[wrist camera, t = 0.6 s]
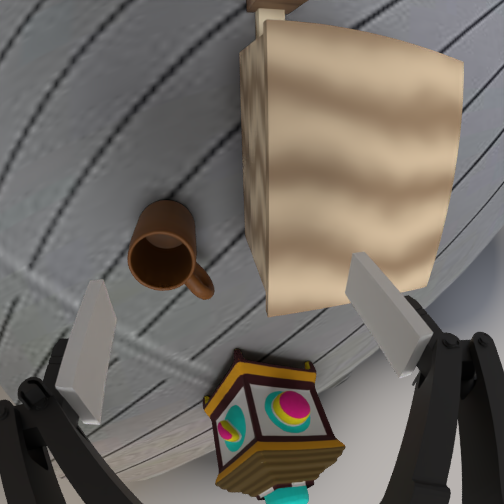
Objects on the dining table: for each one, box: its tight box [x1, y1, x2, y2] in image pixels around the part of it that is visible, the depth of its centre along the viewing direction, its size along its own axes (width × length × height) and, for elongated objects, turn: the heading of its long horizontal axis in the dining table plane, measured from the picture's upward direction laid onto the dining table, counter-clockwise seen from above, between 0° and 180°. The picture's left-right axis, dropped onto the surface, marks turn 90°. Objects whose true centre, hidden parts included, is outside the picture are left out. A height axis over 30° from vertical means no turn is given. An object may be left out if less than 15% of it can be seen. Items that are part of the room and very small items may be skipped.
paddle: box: [246, 0, 308, 39], centre depth 28 cm, size 27×5×9 cm, turn 1°
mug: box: [128, 200, 214, 300], centre depth 36 cm, size 12×8×9 cm, turn 38°
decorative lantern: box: [203, 349, 345, 504], centre depth 46 cm, size 20×20×30 cm
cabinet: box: [239, 19, 464, 317], centre depth 31 cm, size 25×20×16 cm
